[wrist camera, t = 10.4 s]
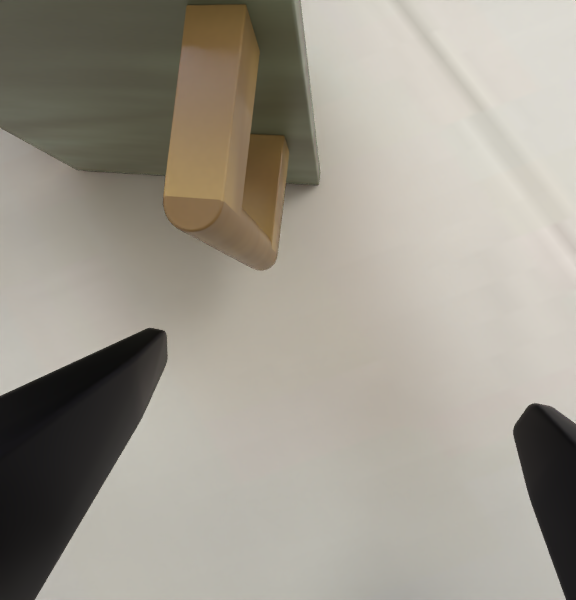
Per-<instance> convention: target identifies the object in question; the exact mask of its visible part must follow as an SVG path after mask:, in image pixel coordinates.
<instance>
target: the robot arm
mask: <svg viewBox="0 0 576 600" xmlns="http://www.w3.org/2000/svg"><path fill="white" fill-rule="evenodd" d="M167 356H168V355H167V335H166V332H165V331H163V330H159V329H154V328H147V329H145V330H143V331H141V332H138V333H136V334H134V335H132V336H130V337H128V338H125V339H123V340H121V341H119V342H117V343H115V344H112V345H110V346H108V347H106V348H104V349H101V350H99V351H97V352H95V353H93V354H91V355H88V356H86V357H84V358H82V359H80V360H78V361H75V362H73V363H71V364H69V365H67V366H65V367H62V368H60V369H58V370H56V371H54V372H51V373H49V374H47V375H45V376H43V377H41V378H38V379H36V380H34V381H32V382H30V383H28V384H25V385H23V386H21V387H19V388H17V389H15V390H12V391H10V392H8V393H6V394H4V395H1V396H0V600H35V598H36V597H37V595H38V593H39V592H40V590H41V588H42V587H43V585H44V583H45V582H46V580H47V578H48V576H49V575H50V573H51V571H52V570H53V568H54V566H55V565H56V563H57V561H58V560H59V558H60V556H61V554H62V553H63V551H64V549H65V548H66V546H67V544H68V543H69V541H70V539H71V538H72V536H73V534H74V532H75V531H76V529H77V527H78V526H79V524H80V522H81V521H82V519H83V517H84V516H85V514H86V512H87V511H88V509H89V507H90V505H91V504H92V502H93V500H94V499H95V497H96V495H97V494H98V492H99V490H100V489H101V487H102V485H103V483H104V482H105V480H106V478H107V477H108V475H109V473H110V472H111V470H112V468H113V467H114V465H115V463H116V461H117V460H118V458H119V456H120V455H121V453H122V451H123V450H124V448H125V446H126V445H127V443H128V441H129V440H130V438H131V436H132V434H133V433H134V431H135V429H136V428H137V426H138V424H139V422H140V420H141V419H142V417H143V414H144V412H145V410H146V408H147V406H148V404H149V401H150V399H151V397H152V395H153V392H154V390H155V388H156V386H157V384H158V381H159V379H160V377H161V375H162V372H163V370H164V368H165V366H166V363H167ZM513 435H514V439H515V443H516V447H517V451H518V455H519V459H520V463H521V467H522V471H523V475H524V479H525V483H526V487H527V490H528V494H529V497H530V500H531V503H532V506H533V509H534V512H535V515H536V518H537V520H538V523H539V526H540V529H541V532H542V534H543V537H544V540H545V543H546V545H547V548H548V551H549V554H550V556H551V559H552V562H553V565H554V568H555V570H556V573H557V576H558V579H559V581H560V584H561V587H562V590H563V592H564V595H565V598H566V600H576V424H575V423H574V422H572V421H571V420H570V419H568V418H567V417H565V416H564V415H563V414H561V413H560V412H559V411H557V410H556V409H555V408H553V407H551V406H547V405H542V404H537V403H534V404H531V405H529V406H528V407H527V408H526V410H525V411H524V413H523V414H522V415H521V417H520V418H519V420H518V421H517V422H516V424H515V426H514V430H513Z"/></svg>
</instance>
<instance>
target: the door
mask: <svg viewBox="0 0 576 600" xmlns="http://www.w3.org/2000/svg"><path fill="white" fill-rule="evenodd" d="M0 128H2V129H4V130H5V131H7V132H9V133H11V134H13V135H14V136H16V137H18V138H20V139H22V140H23V141H25V142H27V143H29V144H31V145H33V146H34V147H36V148H38V149H40V150H42V151H43V152H45V153H47V154H49V155H51V156H53V157H54V158H56V159H58V160H60V161H62V162H63V163H65V164H67V165H69V166H71V167H72V168H74V169H76V170H83V171H99V172H115V173H131V174H148V175H164V176H166V177H165V185H164V194H163V207H164V211H165V214H166V216H167V218H168V220H169V221H170V223H171V224H172V225H173V226H175V227H176V228H178V229H179V230H181V231H183V232H185V233H187V234H189V235H191V236H192V237H194V238H196V239H198V240H200V241H202V242H204V243H206V244H207V245H209V246H211V247H213V248H215V249H217V250H219V251H221V252H223V253H224V254H226V255H228V256H230V257H232V258H234V259H236V260H238V261H239V262H241V263H243V264H245V265H247V266H249V267H251V268H253V269H255V270H259V271H262V270H266V269H269V268H270V267H272V266H273V264H274V263H275V262H276V259H277V255H278V247H279V238H280V229H281V221H282V212H283V203H284V194H285V186H286V183H293V184H309V185H319V180H320V166H319V158H318V149H317V140H316V131H315V123H314V114H313V105H312V96H311V88H310V79H309V70H308V61H307V53H306V44H305V35H304V26H303V18H302V9H301V0H0Z"/></svg>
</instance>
